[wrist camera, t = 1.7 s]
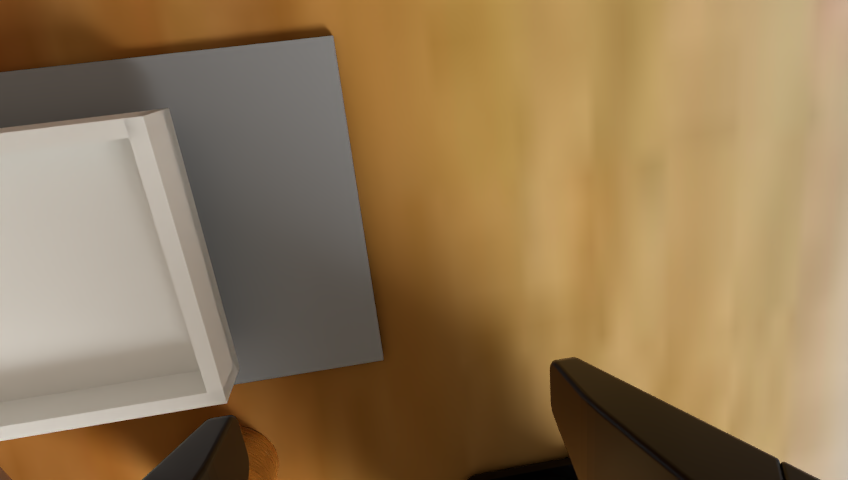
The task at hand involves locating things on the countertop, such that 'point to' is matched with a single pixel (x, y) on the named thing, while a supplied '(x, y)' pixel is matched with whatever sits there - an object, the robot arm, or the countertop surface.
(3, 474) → the walnut block
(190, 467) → the robot arm
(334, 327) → the lane mat
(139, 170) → the white shallow tray
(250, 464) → the small wooden cylinder
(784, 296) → the countertop surface
